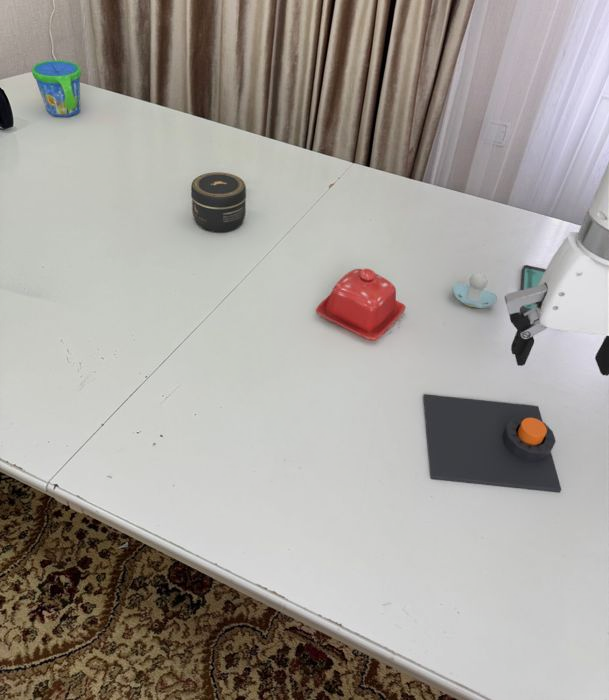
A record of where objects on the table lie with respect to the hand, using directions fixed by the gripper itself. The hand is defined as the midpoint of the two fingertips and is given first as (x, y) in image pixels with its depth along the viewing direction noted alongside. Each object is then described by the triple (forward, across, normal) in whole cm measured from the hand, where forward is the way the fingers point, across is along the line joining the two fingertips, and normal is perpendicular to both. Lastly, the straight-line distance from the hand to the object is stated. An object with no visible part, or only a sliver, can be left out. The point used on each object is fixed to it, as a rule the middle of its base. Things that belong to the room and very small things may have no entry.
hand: (559, 362), depth 72 cm
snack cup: (+15, +95, -88) cm, 130 cm away
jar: (+15, +49, -47) cm, 69 cm away
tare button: (+12, 0, +1) cm, 12 cm away
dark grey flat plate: (+14, +5, +1) cm, 15 cm away
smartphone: (+15, -9, -33) cm, 38 cm away
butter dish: (+15, +22, -23) cm, 35 cm away
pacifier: (+15, +3, -30) cm, 34 cm away
